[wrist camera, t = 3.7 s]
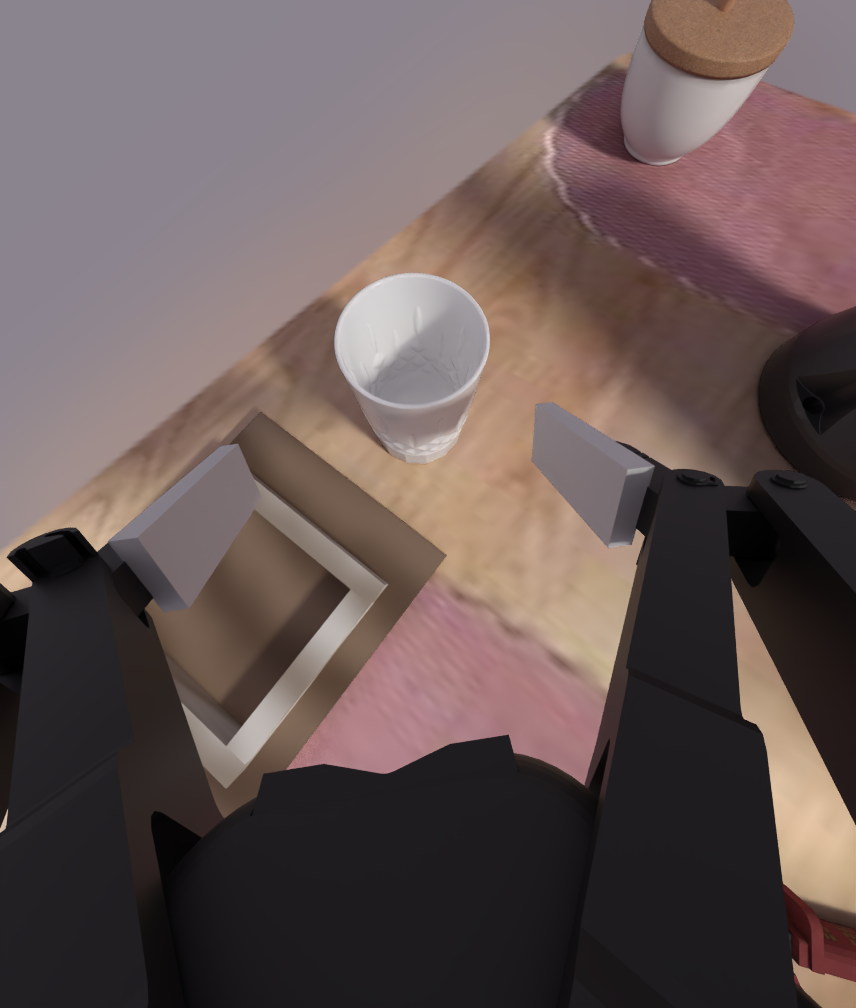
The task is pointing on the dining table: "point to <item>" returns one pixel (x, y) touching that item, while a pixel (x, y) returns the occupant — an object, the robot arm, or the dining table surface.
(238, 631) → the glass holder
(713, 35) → the lidded jar
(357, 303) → the white cup
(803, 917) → the pliers
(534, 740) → the dining table surface
